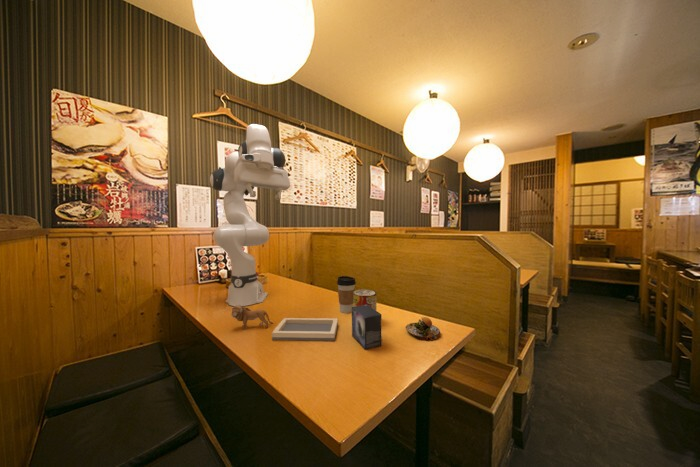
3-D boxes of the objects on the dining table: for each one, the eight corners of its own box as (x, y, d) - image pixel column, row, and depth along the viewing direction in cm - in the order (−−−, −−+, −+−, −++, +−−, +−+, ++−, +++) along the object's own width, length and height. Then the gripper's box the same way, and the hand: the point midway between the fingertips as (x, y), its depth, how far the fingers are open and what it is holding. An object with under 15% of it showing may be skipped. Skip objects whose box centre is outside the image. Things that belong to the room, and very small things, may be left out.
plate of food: (409, 324, 95) (409, 305, 95) (441, 330, 90) (441, 310, 90) (401, 337, 84) (401, 316, 84) (438, 344, 79) (438, 322, 79)
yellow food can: (350, 325, 94) (350, 294, 93) (357, 317, 102) (357, 288, 102) (373, 328, 91) (373, 296, 90) (378, 320, 99) (378, 290, 99)
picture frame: (284, 324, 95) (284, 317, 95) (337, 324, 94) (337, 318, 94) (272, 340, 82) (272, 332, 82) (334, 341, 81) (334, 333, 81)
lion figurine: (230, 332, 88) (230, 308, 88) (233, 327, 93) (232, 303, 93) (273, 327, 92) (273, 304, 92) (273, 322, 98) (273, 299, 97)
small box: (350, 336, 85) (350, 306, 85) (367, 332, 88) (367, 303, 87) (364, 350, 75) (364, 316, 75) (382, 346, 78) (382, 313, 78)
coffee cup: (344, 306, 116) (344, 274, 115) (359, 310, 111) (359, 277, 110) (333, 311, 109) (333, 278, 108) (348, 315, 104) (348, 280, 103)
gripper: (283, 172, 102) (287, 203, 99) (230, 162, 88) (234, 198, 85) (290, 165, 98) (295, 197, 95) (236, 153, 84) (240, 191, 81)
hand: (266, 197), depth 90 cm, fingers open, 8 cm apart
